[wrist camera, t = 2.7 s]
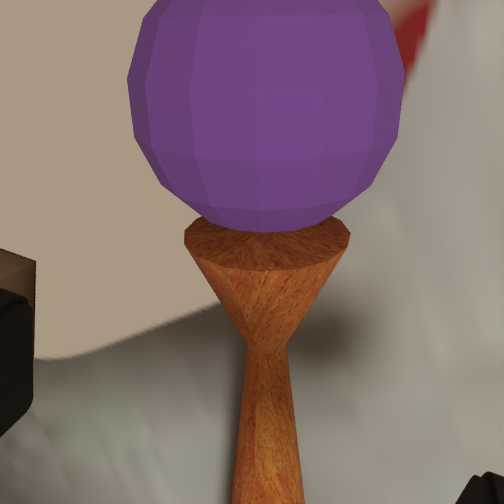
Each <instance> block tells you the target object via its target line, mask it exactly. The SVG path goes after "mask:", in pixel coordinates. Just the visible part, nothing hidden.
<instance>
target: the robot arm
mask: <svg viewBox="0 0 504 504" xmlns="http://www.w3.org/2000/svg"><path fill="white" fill-rule="evenodd" d="M32 400H33V311H32V308H31V306H29V304H28V300H27V298H26V297H24V296H22V295H19V294H16V293H14V292H11V291H8V290H6V289H3V288H0V437H1V436H2V435H3V434H4V433H5V432H6V431H7V430H9V429H10V428H11V427H12V426H13V425H14V424H15V423H16V422H17V421H18V420H19V419H20V418H21V417H22V416H23V415H24V414H25V413H26V412H27V410H28V409H29V407H30V405H31V403H32ZM455 504H504V477H503V476H500V475H498V474H495V473H492V472H489V471H488V472H486V473H484V475H483V476H482V477H479V476H477V475H474V476H472V478H471V479H470V480H469V482H468V484H467V485H466V487H465V488H464V490H463V492H462V493H461V495H460V497H459V498H458V500H457V502H456V503H455Z"/></svg>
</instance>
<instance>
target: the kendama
mask: <svg viewBox="0 0 504 504" xmlns="http://www.w3.org/2000/svg"><path fill="white" fill-rule="evenodd" d="M404 76H405V74H404V67H403V64H402V60H401V56H400V53H399V49H398V46H397V42H396V39H395V35H394V32H393V28H392V24H391V21H390V17H389V14H388V12H387V11H386V10H385V9H384V8H383V6H382V5H381V4H380V3H379V1H378V0H157V1H156V3H155V4H154V5H153V6H152V8H151V9H150V10H149V12H148V13H147V14H146V15H145V17H144V18H143V21H142V25H141V29H140V32H139V36H138V40H137V44H136V47H135V51H134V54H133V58H132V62H131V66H130V69H129V73H128V77H127V83H128V91H129V99H130V106H131V115H132V123H133V130H134V138H135V139H136V141H137V143H138V145H139V146H140V148H141V150H142V152H143V154H144V155H145V157H146V159H147V161H148V162H149V164H150V166H151V168H152V169H153V171H154V173H155V175H156V176H157V178H158V180H159V182H160V183H161V185H163V186H164V187H165V188H166V189H168V190H169V191H170V192H171V193H173V194H174V195H175V196H177V197H178V198H179V199H181V200H182V201H183V202H184V203H186V204H187V205H188V206H190V207H191V208H192V209H194V210H195V211H196V212H198V213H199V214H200V215H202V217H200V218H197V219H196V220H195V221H194V222H193V223H192V224H191V225H190V226H189V227H188V228H187V229H186V230H185V235H184V244H185V246H186V248H187V249H188V251H189V252H190V254H191V256H192V257H193V259H194V260H195V262H196V263H197V265H198V267H199V268H200V270H201V272H202V273H203V274H204V276H205V278H206V279H207V281H208V283H209V284H210V286H211V287H212V289H213V291H214V292H215V293H216V295H217V297H218V299H219V300H220V302H221V303H222V305H223V307H224V308H225V310H226V311H227V313H228V314H229V316H230V318H231V319H232V321H233V322H234V324H235V326H236V327H237V329H238V330H239V332H240V334H241V335H242V337H243V338H244V340H245V342H246V343H247V345H248V348H247V358H246V367H245V376H244V385H243V394H242V404H241V413H240V422H239V431H238V441H237V450H236V459H235V468H234V478H233V487H232V496H231V504H305V501H304V492H303V484H302V475H301V467H300V458H299V450H298V442H297V433H296V425H295V416H294V408H293V399H292V391H291V382H290V374H289V365H288V357H287V348H286V345H287V343H288V342H289V340H290V338H291V337H292V335H293V334H294V332H295V330H296V329H297V327H298V326H299V324H300V322H301V321H302V319H303V317H304V316H305V314H306V313H307V311H308V309H309V308H310V306H311V305H312V303H313V301H314V300H315V298H316V297H317V295H318V293H319V292H320V290H321V289H322V287H323V285H324V284H325V282H326V281H327V279H328V277H329V276H330V274H331V272H332V271H333V269H334V268H335V266H336V264H337V263H338V261H339V260H340V258H341V256H342V255H343V253H344V252H345V250H346V248H347V246H348V242H349V238H350V234H351V233H350V232H349V231H348V229H347V228H346V227H345V225H344V224H343V223H342V221H341V220H339V219H337V218H335V217H333V216H332V215H333V214H334V213H336V212H337V211H338V210H340V209H341V208H342V207H344V206H345V205H346V204H347V203H349V202H350V201H351V200H353V199H354V198H355V197H357V196H358V195H359V194H361V193H362V192H363V191H364V190H366V189H367V188H368V187H370V186H371V184H372V182H373V180H374V179H375V177H376V175H377V173H378V171H379V170H380V168H381V166H382V164H383V162H384V161H385V159H386V157H387V155H388V153H389V152H390V150H391V148H392V146H393V144H394V143H395V141H396V139H397V137H398V128H399V119H400V111H401V102H402V94H403V85H404Z"/></svg>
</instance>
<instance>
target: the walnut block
mask: <svg viewBox="0 0 504 504" xmlns="http://www.w3.org/2000/svg"><path fill="white" fill-rule="evenodd" d="M0 288H3V289H6V290H8V291H11V292H14V293H16V294H19V295H22V296H24V297H26V298H27V300H28V304H29V306H31V308H32V311H33V358H34V341H35V295H36V261H35V260H32V259H29V258H26V257H24V256H21V255H18V254H15V253H13V252H10V251H7V250H4V249H1V248H0Z"/></svg>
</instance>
